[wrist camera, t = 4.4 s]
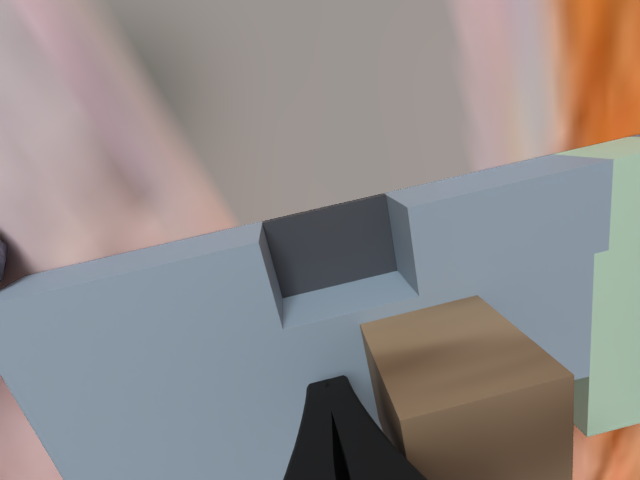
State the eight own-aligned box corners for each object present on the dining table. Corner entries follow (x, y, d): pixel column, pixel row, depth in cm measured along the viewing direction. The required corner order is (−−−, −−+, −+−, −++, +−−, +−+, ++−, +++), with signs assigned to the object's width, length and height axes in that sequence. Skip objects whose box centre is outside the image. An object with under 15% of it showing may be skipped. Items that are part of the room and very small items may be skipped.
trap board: (138, 497, 16) (85, 635, 11) (23, 276, 12) (-114, 353, 8) (632, 369, 17) (755, 452, 12) (653, 131, 13) (832, 130, 9)
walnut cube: (484, 391, 13) (571, 500, 9) (378, 419, 13) (421, 543, 9) (477, 295, 12) (574, 374, 8) (359, 324, 11) (400, 420, 8)
